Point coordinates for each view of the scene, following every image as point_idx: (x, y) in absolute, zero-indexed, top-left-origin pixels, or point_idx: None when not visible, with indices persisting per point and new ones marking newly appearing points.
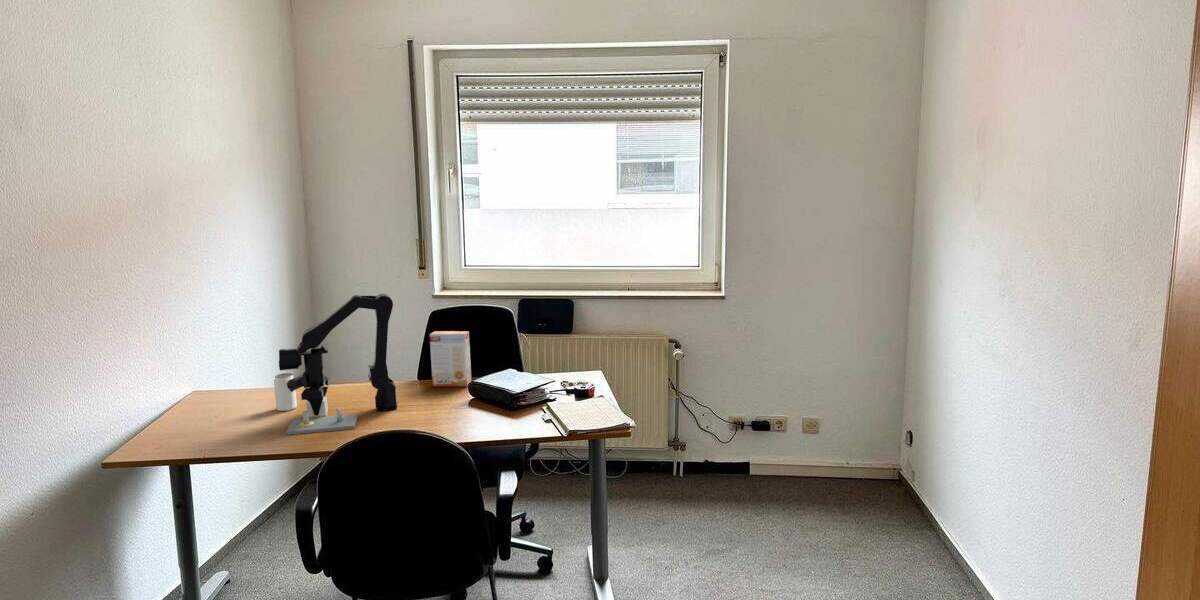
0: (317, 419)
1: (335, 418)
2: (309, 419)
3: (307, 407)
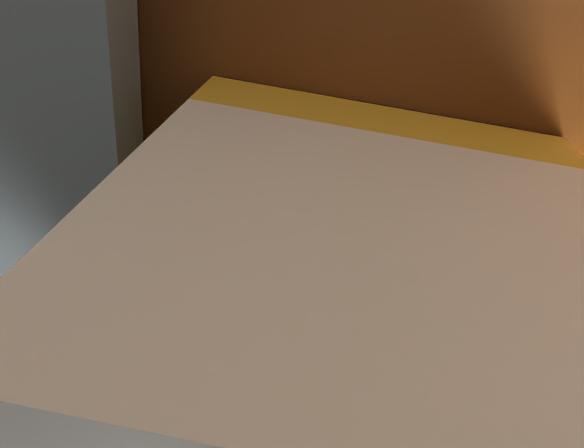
0: (15, 249)
1: None
2: (31, 127)
3: (74, 239)
